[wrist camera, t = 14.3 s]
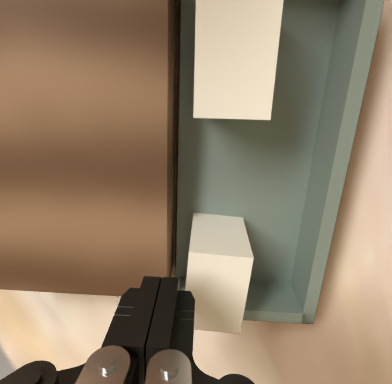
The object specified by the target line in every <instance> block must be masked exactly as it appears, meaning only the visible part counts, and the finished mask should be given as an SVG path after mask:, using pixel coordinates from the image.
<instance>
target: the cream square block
mask: <svg viewBox="0 0 392 384" xmlns="http://www.w3.org/2000/svg"><path fill="white" fill-rule="evenodd" d="M253 260H254V257H253V254H252V250H251V246H250V242H249V239H248V235H247V231H246V227H245V224H244V220H243V217H233V216H223V215H213V214H203V213H193V221H192V229H191V238H190V246H189V255H188V266H187V277H186V288H185V291H191V293H192V295H193V297H194V299H195V314H194V329H196V330H206V331H216V332H226V333H235V334H240V331H241V326H242V320H243V315H244V309H245V304H246V298H247V293H248V287H249V282H250V276H251V271H252V265H253Z"/></svg>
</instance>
